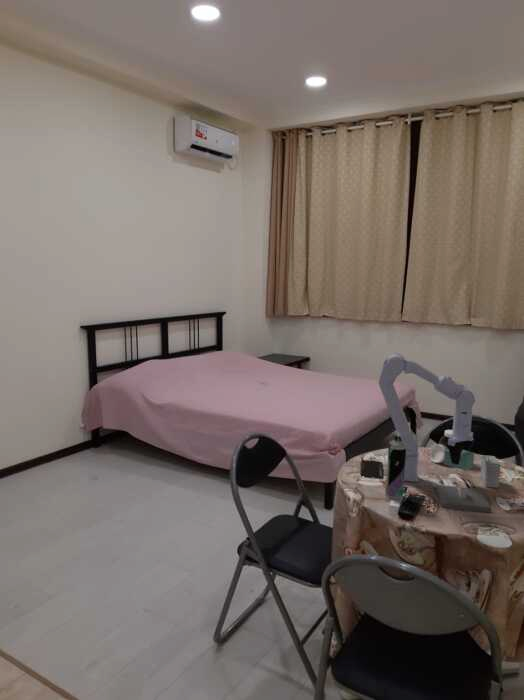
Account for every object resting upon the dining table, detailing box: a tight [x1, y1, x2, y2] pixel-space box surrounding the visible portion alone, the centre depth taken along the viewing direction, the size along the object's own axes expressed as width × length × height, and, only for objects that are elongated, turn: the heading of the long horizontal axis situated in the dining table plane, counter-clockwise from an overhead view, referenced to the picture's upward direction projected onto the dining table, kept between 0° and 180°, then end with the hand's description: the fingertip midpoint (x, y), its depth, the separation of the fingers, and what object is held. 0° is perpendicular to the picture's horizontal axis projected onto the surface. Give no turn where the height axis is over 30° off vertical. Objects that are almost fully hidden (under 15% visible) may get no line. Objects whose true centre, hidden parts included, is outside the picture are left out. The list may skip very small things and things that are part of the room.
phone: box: [359, 459, 384, 479], centre depth 185 cm, size 8×1×15 cm
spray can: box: [385, 435, 406, 500], centre depth 162 cm, size 6×6×20 cm
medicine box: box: [479, 455, 501, 489], centre depth 174 cm, size 8×4×9 cm, turn 168°
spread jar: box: [429, 429, 453, 464], centre depth 194 cm, size 12×11×12 cm
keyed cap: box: [443, 449, 475, 472], centre depth 173 cm, size 5×8×5 cm
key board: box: [435, 482, 492, 513], centre depth 160 cm, size 14×14×5 cm
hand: (458, 461), depth 173 cm, fingers closed on keyed cap, 5 cm apart
